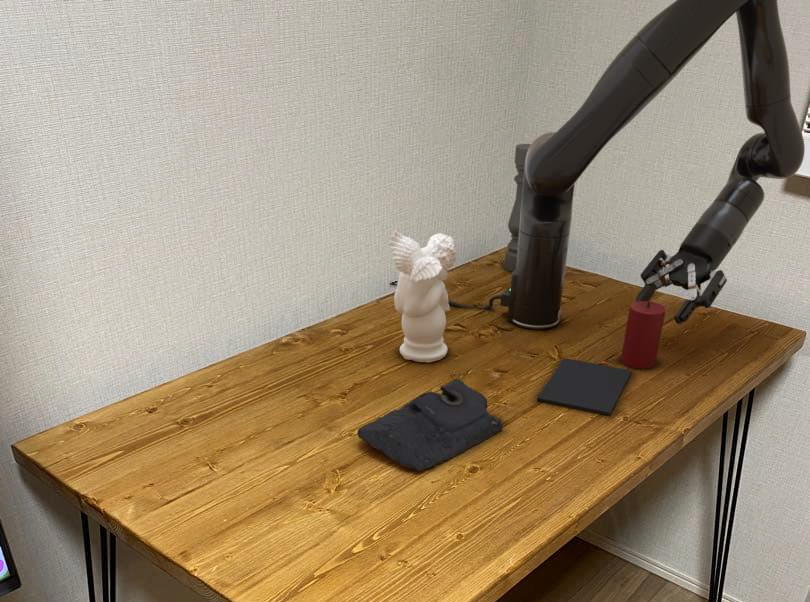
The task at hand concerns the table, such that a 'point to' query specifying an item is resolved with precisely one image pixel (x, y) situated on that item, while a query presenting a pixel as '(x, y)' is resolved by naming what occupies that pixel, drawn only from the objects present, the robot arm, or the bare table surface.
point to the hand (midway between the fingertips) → (657, 313)
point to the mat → (585, 386)
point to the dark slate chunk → (433, 427)
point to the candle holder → (516, 208)
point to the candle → (643, 334)
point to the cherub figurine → (422, 294)
